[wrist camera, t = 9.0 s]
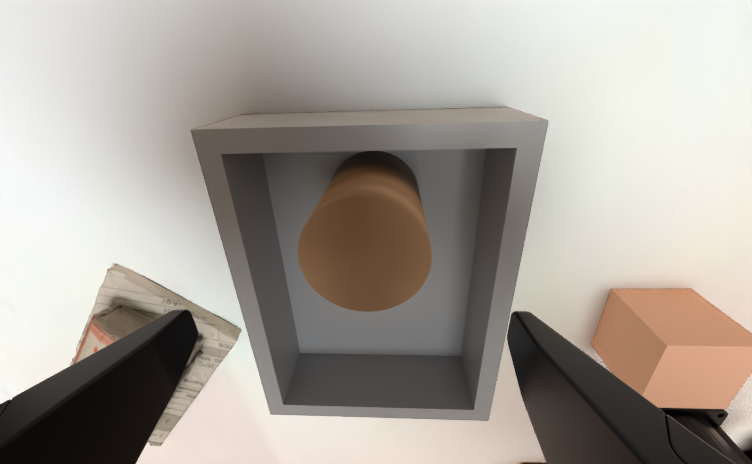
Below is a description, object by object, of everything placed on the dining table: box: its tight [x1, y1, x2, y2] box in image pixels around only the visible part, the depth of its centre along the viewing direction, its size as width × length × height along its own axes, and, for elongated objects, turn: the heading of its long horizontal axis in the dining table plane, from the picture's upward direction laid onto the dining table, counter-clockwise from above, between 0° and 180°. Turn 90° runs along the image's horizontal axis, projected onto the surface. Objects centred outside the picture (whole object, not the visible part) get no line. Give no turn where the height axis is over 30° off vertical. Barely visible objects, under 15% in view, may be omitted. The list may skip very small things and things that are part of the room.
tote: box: [191, 107, 549, 421], centre depth 19 cm, size 14×18×5 cm
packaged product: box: [70, 265, 241, 446], centre depth 25 cm, size 18×5×10 cm
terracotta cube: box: [592, 289, 752, 409], centre depth 20 cm, size 5×5×5 cm
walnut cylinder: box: [298, 151, 432, 312], centre depth 15 cm, size 5×5×7 cm
